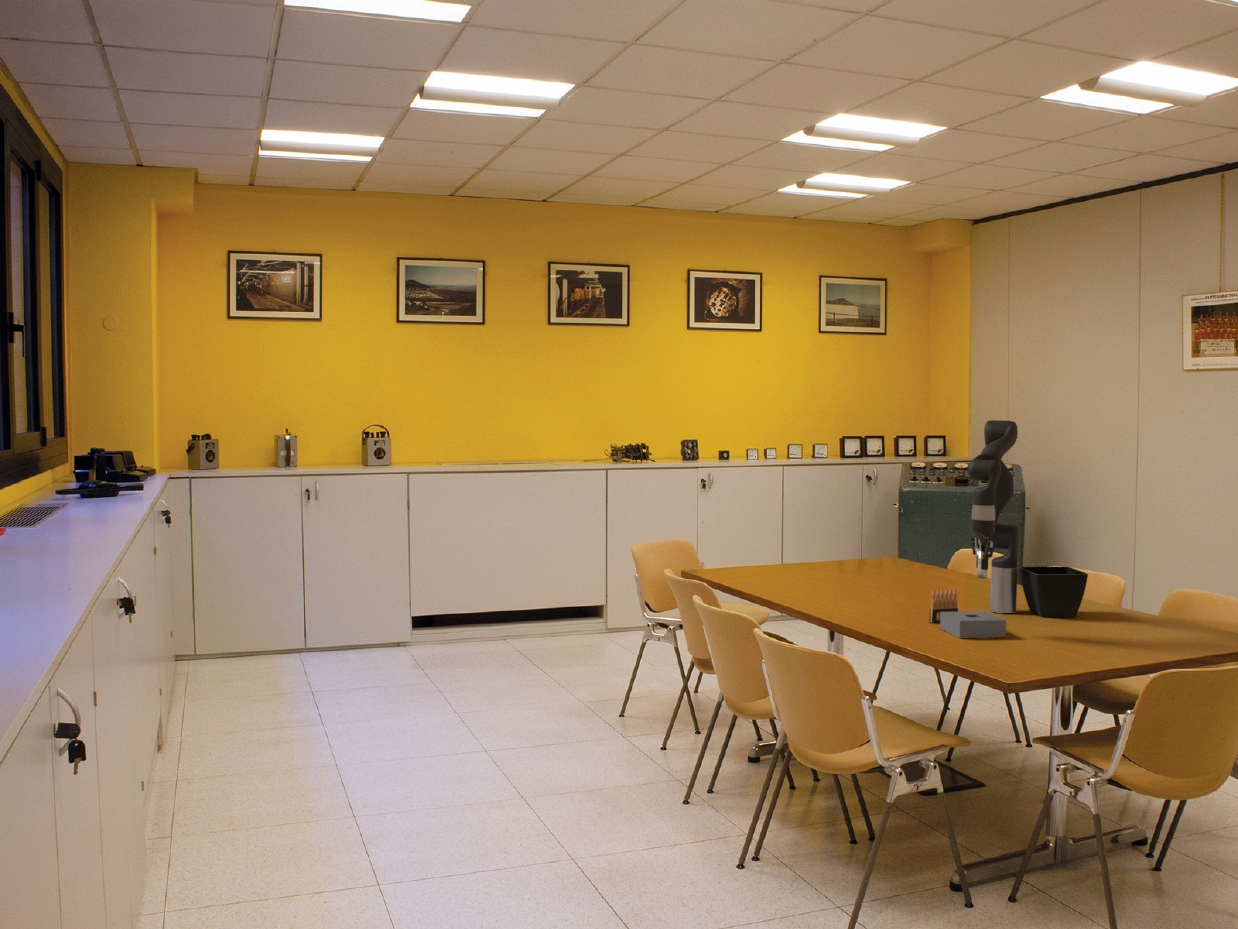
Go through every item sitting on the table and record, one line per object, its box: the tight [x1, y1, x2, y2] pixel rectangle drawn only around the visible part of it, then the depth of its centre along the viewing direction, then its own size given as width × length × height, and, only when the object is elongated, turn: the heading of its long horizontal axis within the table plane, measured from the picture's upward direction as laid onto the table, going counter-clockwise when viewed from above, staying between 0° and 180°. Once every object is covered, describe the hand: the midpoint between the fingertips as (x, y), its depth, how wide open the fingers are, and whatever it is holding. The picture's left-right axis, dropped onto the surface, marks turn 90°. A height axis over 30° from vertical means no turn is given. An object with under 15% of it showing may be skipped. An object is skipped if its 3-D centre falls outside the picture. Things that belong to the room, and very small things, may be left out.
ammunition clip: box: [928, 588, 959, 624], centre depth 368 cm, size 11×2×12 cm, turn 105°
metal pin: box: [976, 548, 988, 580], centre depth 350 cm, size 3×3×10 cm
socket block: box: [939, 610, 1007, 639], centre depth 350 cm, size 16×16×6 cm
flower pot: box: [1018, 566, 1089, 618], centre depth 385 cm, size 19×19×17 cm
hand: (982, 568), depth 350 cm, fingers closed on metal pin, 3 cm apart
